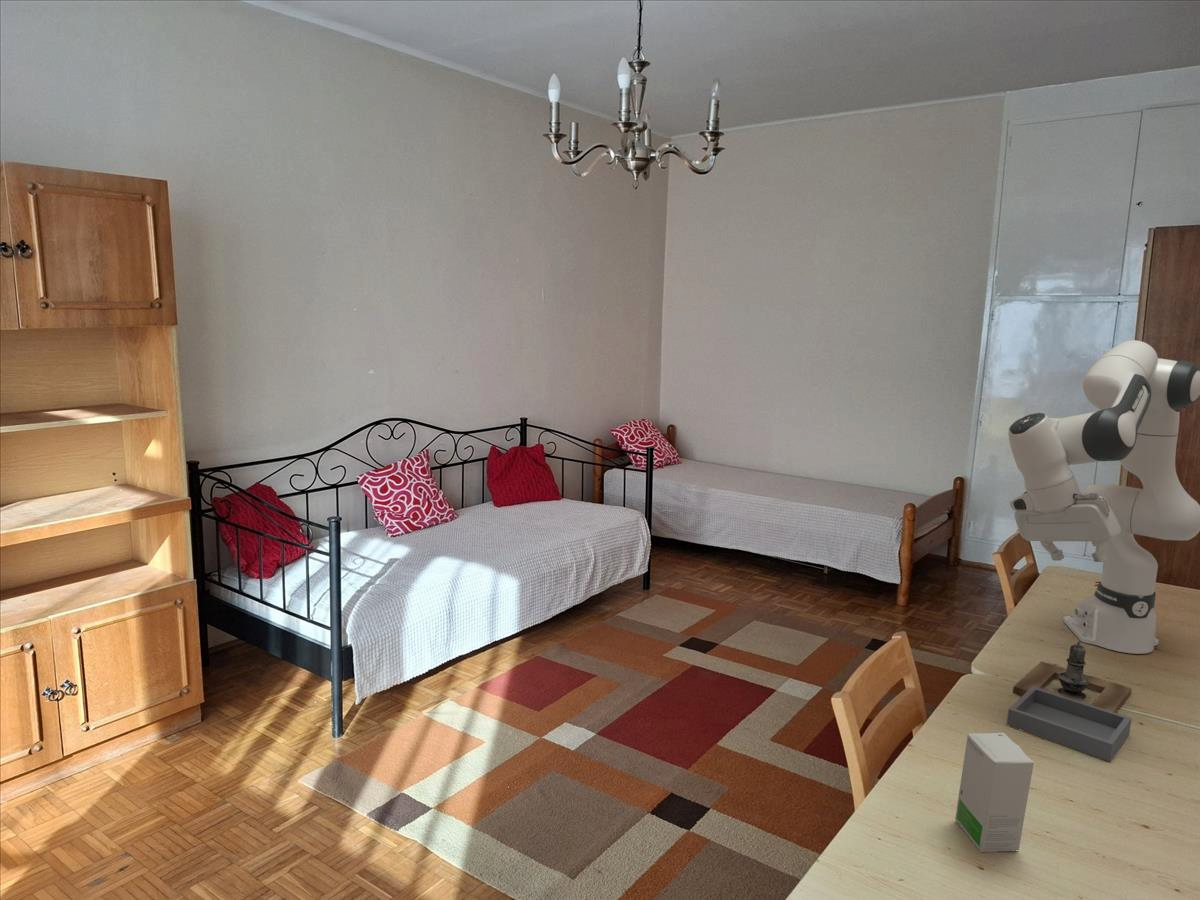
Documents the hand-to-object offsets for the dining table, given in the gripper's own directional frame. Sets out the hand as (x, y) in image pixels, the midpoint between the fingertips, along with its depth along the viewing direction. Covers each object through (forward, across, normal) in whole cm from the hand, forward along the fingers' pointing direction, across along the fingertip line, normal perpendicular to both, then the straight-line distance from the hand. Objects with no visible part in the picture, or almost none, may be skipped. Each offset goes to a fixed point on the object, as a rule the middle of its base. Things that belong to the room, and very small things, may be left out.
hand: (1079, 560), depth 163 cm
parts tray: (+30, +4, +14) cm, 33 cm away
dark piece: (+32, +14, 0) cm, 35 cm away
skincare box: (+22, -16, +55) cm, 61 cm away
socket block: (+32, +14, 0) cm, 35 cm away
